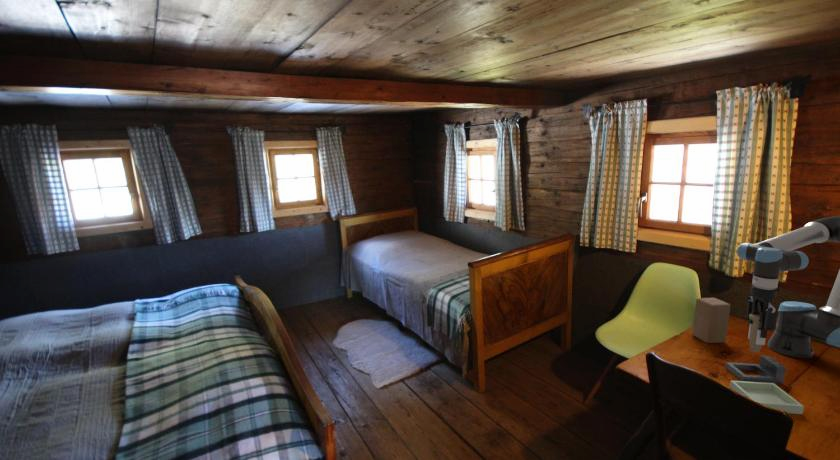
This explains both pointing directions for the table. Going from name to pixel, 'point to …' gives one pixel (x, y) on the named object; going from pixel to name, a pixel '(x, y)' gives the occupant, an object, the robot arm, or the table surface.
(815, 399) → the table surface
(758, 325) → the handle
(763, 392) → the tray
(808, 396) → the table surface
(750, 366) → the socket
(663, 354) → the table surface
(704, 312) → the wooden block
